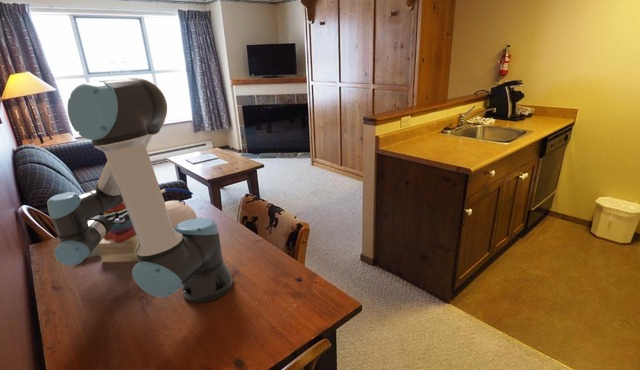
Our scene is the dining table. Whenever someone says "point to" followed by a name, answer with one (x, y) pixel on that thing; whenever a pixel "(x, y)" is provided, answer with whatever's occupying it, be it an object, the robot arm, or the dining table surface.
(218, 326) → the dining table surface
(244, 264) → the dining table surface
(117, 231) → the stacking bear
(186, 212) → the kettle
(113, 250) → the birch block
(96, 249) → the stoneware block
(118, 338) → the dining table surface
